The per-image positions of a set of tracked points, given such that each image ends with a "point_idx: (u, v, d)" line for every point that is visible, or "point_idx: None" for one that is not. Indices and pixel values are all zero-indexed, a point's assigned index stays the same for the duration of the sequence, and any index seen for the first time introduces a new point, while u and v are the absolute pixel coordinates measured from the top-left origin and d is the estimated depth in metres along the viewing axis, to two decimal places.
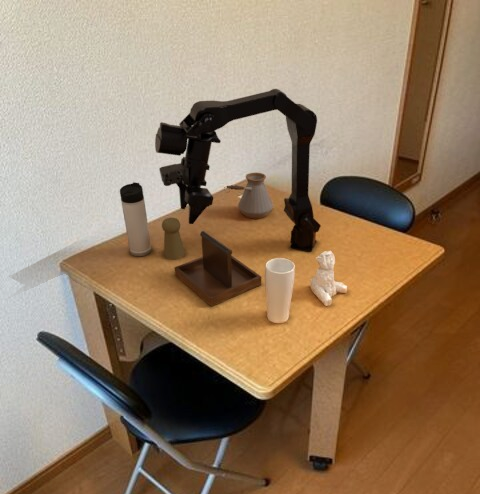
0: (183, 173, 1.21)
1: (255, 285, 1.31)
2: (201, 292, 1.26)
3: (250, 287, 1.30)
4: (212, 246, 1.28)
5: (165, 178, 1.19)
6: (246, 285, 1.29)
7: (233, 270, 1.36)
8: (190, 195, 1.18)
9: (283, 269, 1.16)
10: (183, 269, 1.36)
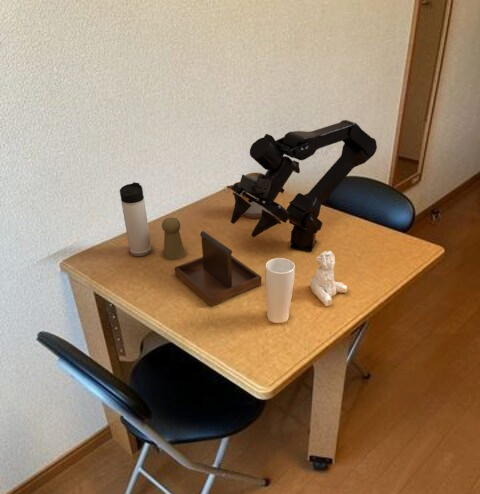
0: None
1: (255, 285, 1.31)
2: (201, 292, 1.26)
3: (250, 287, 1.30)
4: (212, 246, 1.28)
5: (254, 184, 1.21)
6: (246, 285, 1.29)
7: (233, 270, 1.36)
8: (277, 206, 1.21)
9: (283, 269, 1.16)
10: (183, 269, 1.36)
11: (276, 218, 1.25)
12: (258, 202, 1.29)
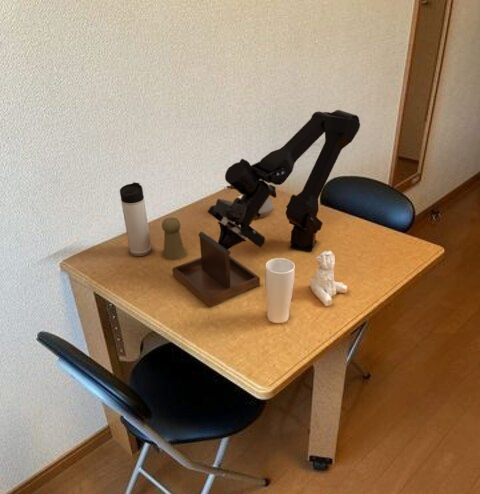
0: None
1: (253, 286, 1.30)
2: (199, 293, 1.26)
3: (248, 288, 1.30)
4: (210, 247, 1.28)
5: (229, 209, 1.20)
6: (244, 286, 1.28)
7: (231, 271, 1.36)
8: (252, 232, 1.20)
9: (283, 269, 1.16)
10: (181, 270, 1.36)
11: (241, 236, 1.26)
12: (234, 226, 1.28)
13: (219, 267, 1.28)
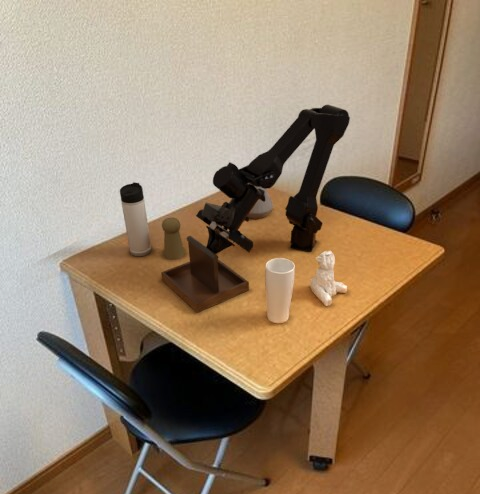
0: (229, 215, 1.22)
1: (242, 290, 1.29)
2: (187, 298, 1.24)
3: (237, 293, 1.28)
4: (198, 251, 1.26)
5: (216, 213, 1.18)
6: (233, 291, 1.27)
7: (221, 275, 1.34)
8: (240, 236, 1.19)
9: (283, 269, 1.16)
10: (170, 274, 1.34)
11: (229, 240, 1.25)
12: (222, 230, 1.26)
13: (207, 272, 1.26)
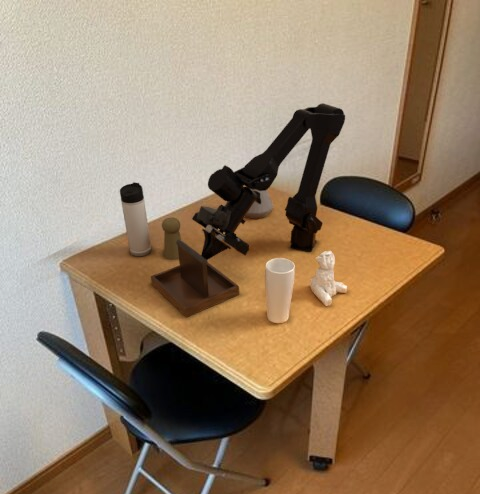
0: None
1: (233, 295, 1.27)
2: (176, 302, 1.23)
3: (227, 297, 1.27)
4: (188, 255, 1.25)
5: (212, 216, 1.18)
6: (223, 295, 1.25)
7: (211, 279, 1.33)
8: (235, 240, 1.18)
9: (283, 269, 1.16)
10: (160, 278, 1.33)
11: (225, 243, 1.24)
12: (218, 233, 1.26)
13: (197, 276, 1.25)
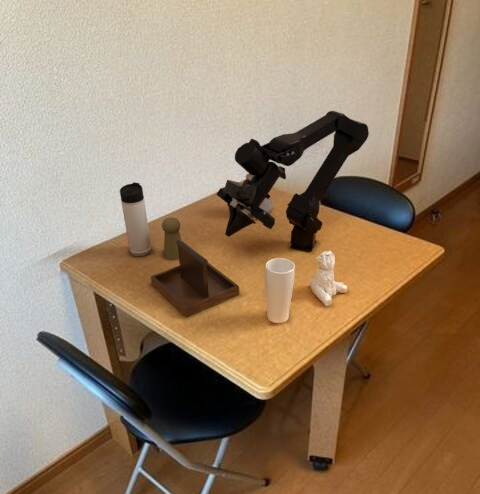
0: None
1: (233, 295, 1.27)
2: (176, 302, 1.23)
3: (227, 297, 1.27)
4: (188, 255, 1.25)
5: (239, 189, 1.19)
6: (223, 295, 1.25)
7: (211, 279, 1.33)
8: (262, 213, 1.19)
9: (283, 269, 1.16)
10: (160, 278, 1.33)
11: (250, 218, 1.25)
12: (243, 208, 1.27)
13: (197, 276, 1.25)
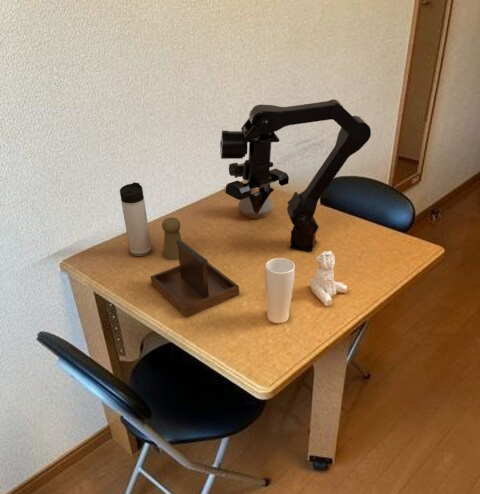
0: None
1: (233, 295, 1.27)
2: (176, 302, 1.23)
3: (227, 297, 1.27)
4: (188, 255, 1.25)
5: None
6: (223, 295, 1.25)
7: (211, 279, 1.33)
8: (226, 185, 1.31)
9: (283, 269, 1.16)
10: (160, 278, 1.33)
11: None
12: None
13: (197, 276, 1.25)
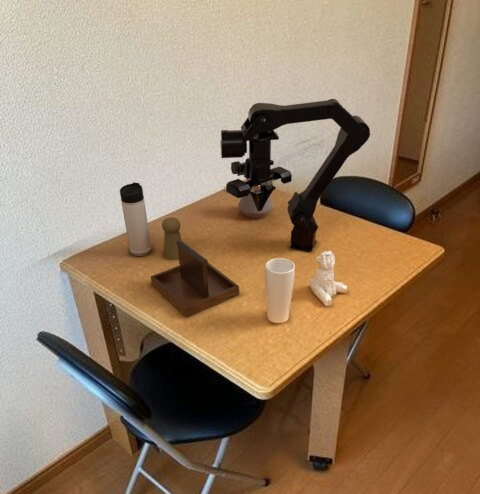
0: None
1: (233, 295, 1.27)
2: (176, 302, 1.23)
3: (227, 297, 1.27)
4: (188, 255, 1.25)
5: None
6: (223, 295, 1.25)
7: (211, 279, 1.33)
8: (226, 184, 1.32)
9: (283, 269, 1.16)
10: (160, 278, 1.33)
11: (249, 190, 1.34)
12: None
13: (197, 276, 1.25)
